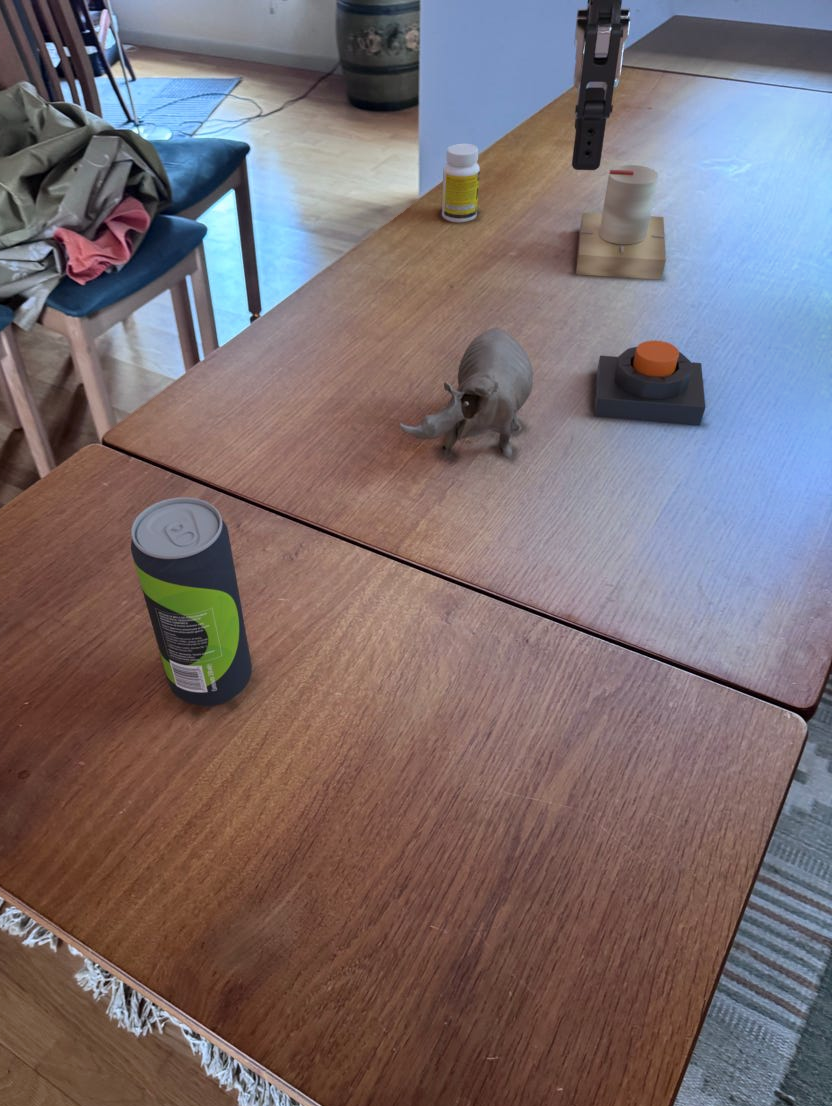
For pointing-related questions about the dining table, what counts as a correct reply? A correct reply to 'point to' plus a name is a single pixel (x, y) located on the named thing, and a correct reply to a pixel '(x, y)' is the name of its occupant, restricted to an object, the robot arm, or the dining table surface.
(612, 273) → the tan square base
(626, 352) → the button box
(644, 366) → the button
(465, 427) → the rhinoceros figurine
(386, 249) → the dining table surface
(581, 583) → the dining table surface
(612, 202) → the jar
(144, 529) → the beverage can
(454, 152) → the supplement bottle
